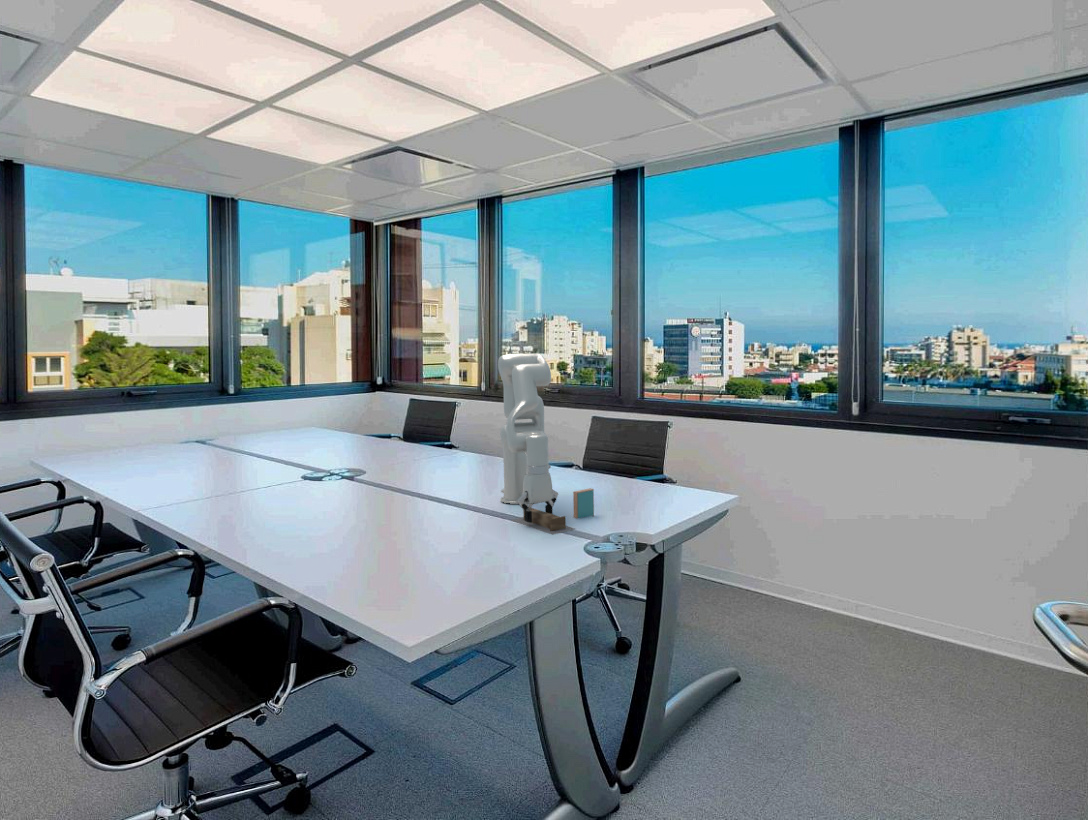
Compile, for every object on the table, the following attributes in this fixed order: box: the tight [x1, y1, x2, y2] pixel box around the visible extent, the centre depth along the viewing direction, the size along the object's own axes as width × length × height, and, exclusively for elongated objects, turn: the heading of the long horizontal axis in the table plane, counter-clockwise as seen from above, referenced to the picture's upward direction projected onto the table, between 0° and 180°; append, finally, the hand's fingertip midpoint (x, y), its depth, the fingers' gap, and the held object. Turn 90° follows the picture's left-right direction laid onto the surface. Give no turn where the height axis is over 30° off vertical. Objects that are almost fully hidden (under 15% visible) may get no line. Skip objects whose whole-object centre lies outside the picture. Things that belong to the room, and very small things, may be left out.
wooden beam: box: [522, 507, 567, 531], centre depth 224 cm, size 18×6×4 cm, turn 37°
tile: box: [572, 488, 595, 519], centre depth 233 cm, size 2×8×10 cm, turn 128°
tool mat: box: [511, 517, 576, 535], centre depth 224 cm, size 24×10×1 cm, turn 38°
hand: (538, 519), depth 225 cm, fingers open, 8 cm apart
